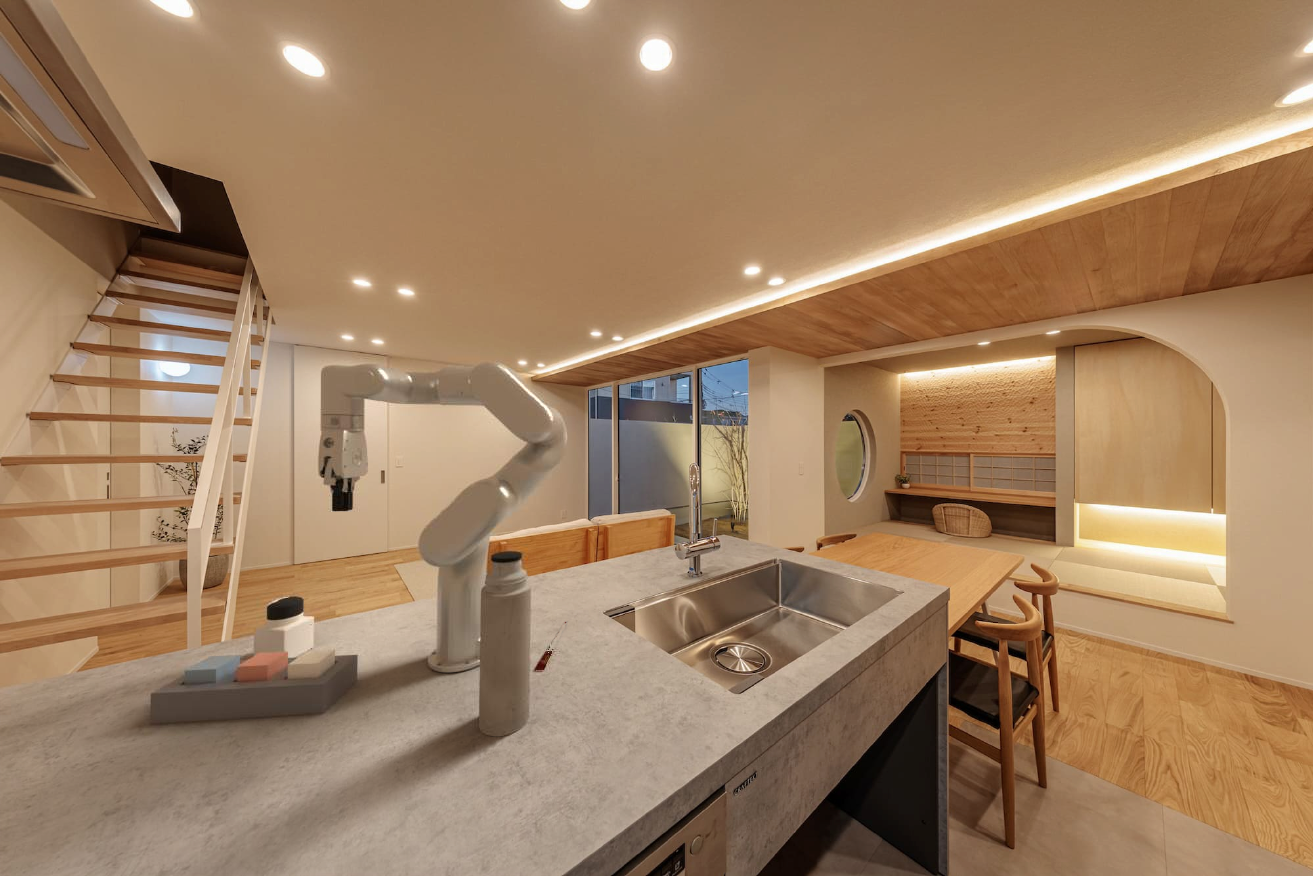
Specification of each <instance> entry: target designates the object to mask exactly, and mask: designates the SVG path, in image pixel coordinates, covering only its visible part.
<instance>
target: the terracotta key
mask: <svg viewBox="0 0 1313 876" xmlns="http://www.w3.org/2000/svg"><path fill="white" fill-rule="evenodd" d="M246 660H247V661H245V662H244V663H242V664H240V665H239V666H237V682H245V681H264V680H269V679H271V678H272V677H273V676H275V675H276V674H278V673H279V672H280V671H282V670H283V669H285V668H286V667H287V666H288V652H266V653H258V654H257V655H255V656H254V655H253V656H251V658H249V659H246Z"/></svg>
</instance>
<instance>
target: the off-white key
mask: <svg viewBox="0 0 1313 876" xmlns="http://www.w3.org/2000/svg"><path fill="white" fill-rule="evenodd" d="M335 656H336V650H335V649H324V650H309V651H306V652H305V653H303V654H301V655H299V656H297V657H298V658H297V657H296V658H297V659H295V660H294V661H292V662H291V663H290V664H288V679H302V678H319V677H320V676H321V675H322V674H323V673H325V672H326V671H327V670H328V669H330V668H331V667H332V666H333V665H334V664H335Z"/></svg>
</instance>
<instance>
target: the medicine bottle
mask: <svg viewBox="0 0 1313 876" xmlns="http://www.w3.org/2000/svg"><path fill="white" fill-rule="evenodd" d="M304 603H305V601H304V598H303V597H300V596H295V595H293V596H284V597H279V598H277V599H274V600H272V601H271V602H269V603H268V604H267V605H266V611H265V612H266V614H265V615H266V617H265V618H266V623H264V624H261V625H259V626H257V627H255V628H254V630H253V656H255V655H257V654H258V653H266V652H288V658H297V657H299V656H301V655H302V654H304V653H305V652H306V651H308V650H309V651H311V650H312V649H314V643H315V642H314V639H315V616H313V615H312V616H311V615H310V616H309V615H308V616H307V615H304V607H305V606H304ZM310 624H312V625H310ZM294 627H295V628H294ZM311 648H312V649H311ZM310 649H311V650H310Z"/></svg>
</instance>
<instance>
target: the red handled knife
mask: <svg viewBox="0 0 1313 876" xmlns="http://www.w3.org/2000/svg"><path fill="white" fill-rule="evenodd" d="M548 650H549V649H548ZM552 650H553V649H552ZM548 652H549V653H548ZM551 654H552V655H553V653H552V651H545V652H544V653H543V655H542V656H541V658H540V660H538V662H537V664H536V666H535V667H534V671H535V670H544V669H545V670H546V668H545V667H547V666H546V664H547V662H548V660H549V658H550V656H551V657H552V655H551ZM550 659H551V658H550ZM549 661H550V660H549ZM548 663H549V662H548ZM547 665H548V664H547ZM545 670H544V671H545Z"/></svg>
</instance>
